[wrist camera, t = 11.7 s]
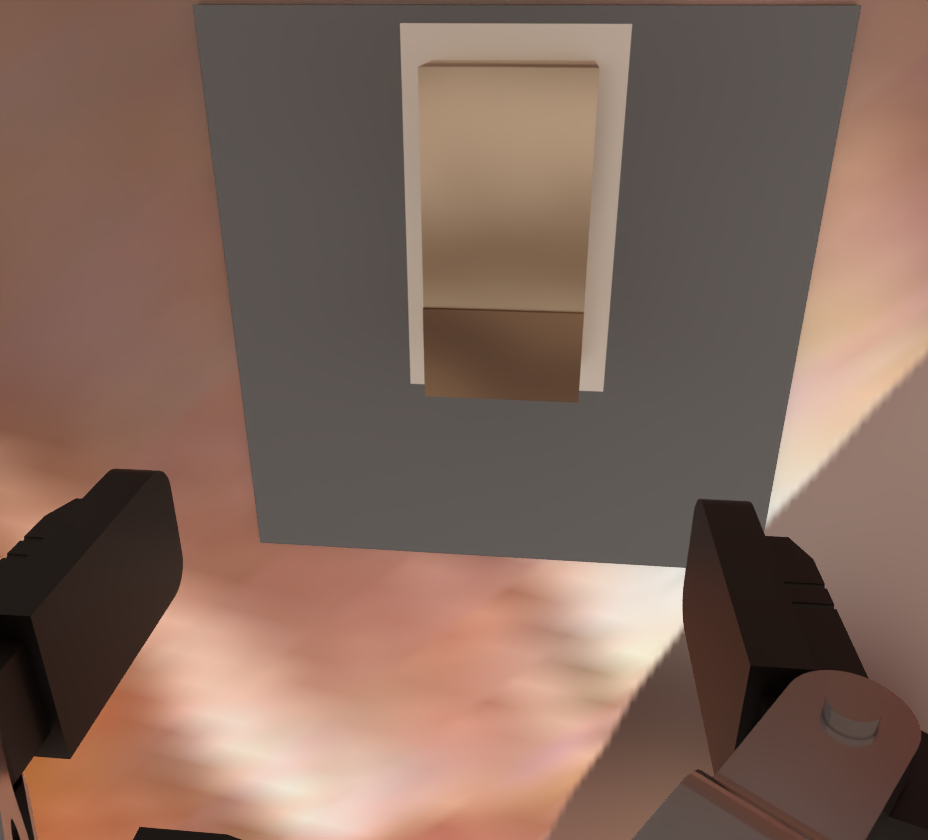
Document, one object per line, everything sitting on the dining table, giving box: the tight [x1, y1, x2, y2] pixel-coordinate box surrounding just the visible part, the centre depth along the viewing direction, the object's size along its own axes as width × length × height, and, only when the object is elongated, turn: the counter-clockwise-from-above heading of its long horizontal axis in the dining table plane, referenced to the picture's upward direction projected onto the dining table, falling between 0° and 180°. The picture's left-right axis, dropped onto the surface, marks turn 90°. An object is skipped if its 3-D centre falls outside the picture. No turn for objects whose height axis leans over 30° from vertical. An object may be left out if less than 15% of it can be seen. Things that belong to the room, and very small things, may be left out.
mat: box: [193, 5, 861, 568], centre depth 30 cm, size 20×20×1 cm
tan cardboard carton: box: [418, 60, 599, 403], centre depth 27 cm, size 10×5×3 cm, turn 0°
